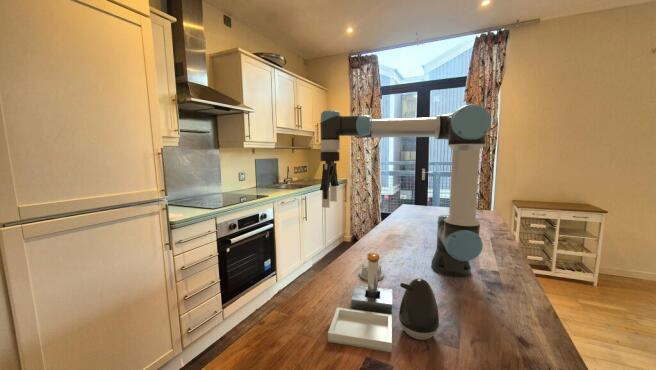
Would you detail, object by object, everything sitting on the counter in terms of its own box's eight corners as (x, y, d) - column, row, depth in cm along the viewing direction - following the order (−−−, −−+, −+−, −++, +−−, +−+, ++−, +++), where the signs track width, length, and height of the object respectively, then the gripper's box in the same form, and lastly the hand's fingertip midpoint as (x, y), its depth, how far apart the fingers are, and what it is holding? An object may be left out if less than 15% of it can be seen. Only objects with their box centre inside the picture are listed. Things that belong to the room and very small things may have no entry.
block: (391, 302, 89) (392, 289, 88) (391, 318, 80) (392, 304, 79) (355, 298, 91) (355, 285, 91) (351, 313, 83) (351, 299, 82)
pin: (378, 305, 87) (379, 253, 85) (377, 311, 84) (378, 257, 82) (367, 304, 88) (367, 252, 86) (365, 310, 84) (366, 256, 82)
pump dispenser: (392, 322, 78) (394, 271, 76) (427, 320, 79) (429, 270, 77) (405, 347, 68) (407, 289, 66) (445, 345, 69) (448, 288, 67)
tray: (391, 322, 78) (391, 314, 78) (391, 352, 66) (391, 342, 66) (337, 315, 82) (337, 307, 81) (327, 341, 70) (327, 332, 70)
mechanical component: (357, 280, 105) (384, 282, 103) (358, 269, 104) (384, 271, 102) (360, 269, 115) (384, 271, 113) (360, 259, 114) (384, 261, 112)
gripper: (328, 151, 120) (327, 198, 123) (311, 150, 96) (312, 209, 99) (344, 151, 119) (344, 199, 121) (332, 150, 94) (332, 210, 97)
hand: (329, 204), depth 110 cm, fingers open, 13 cm apart
